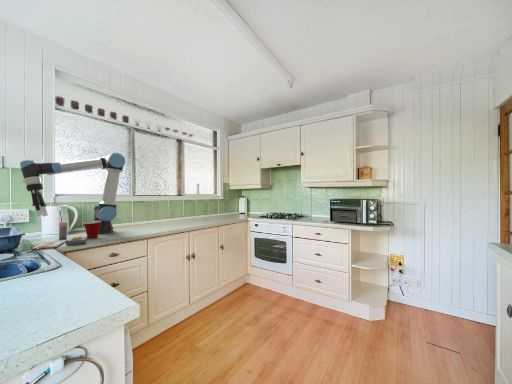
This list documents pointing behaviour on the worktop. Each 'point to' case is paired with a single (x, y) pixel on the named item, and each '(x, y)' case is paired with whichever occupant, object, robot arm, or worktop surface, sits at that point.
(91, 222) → the plastic cup
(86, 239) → the button housing
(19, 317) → the worktop surface
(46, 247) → the picture board
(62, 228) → the marker
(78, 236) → the button
